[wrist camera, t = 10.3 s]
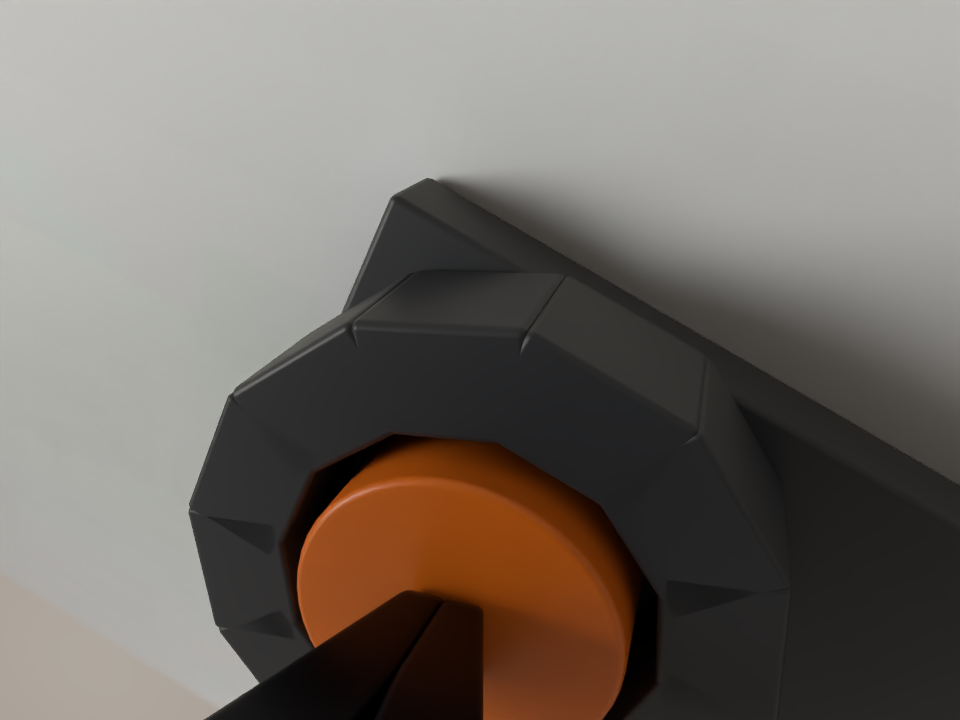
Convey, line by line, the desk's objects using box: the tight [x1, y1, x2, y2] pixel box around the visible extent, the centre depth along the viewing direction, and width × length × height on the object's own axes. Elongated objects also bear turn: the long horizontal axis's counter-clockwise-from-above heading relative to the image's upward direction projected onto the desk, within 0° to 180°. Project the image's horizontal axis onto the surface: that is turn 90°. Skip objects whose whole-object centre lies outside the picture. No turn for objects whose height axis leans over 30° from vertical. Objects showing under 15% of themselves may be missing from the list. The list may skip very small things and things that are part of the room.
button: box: [297, 434, 644, 720], centre depth 9 cm, size 4×4×2 cm
